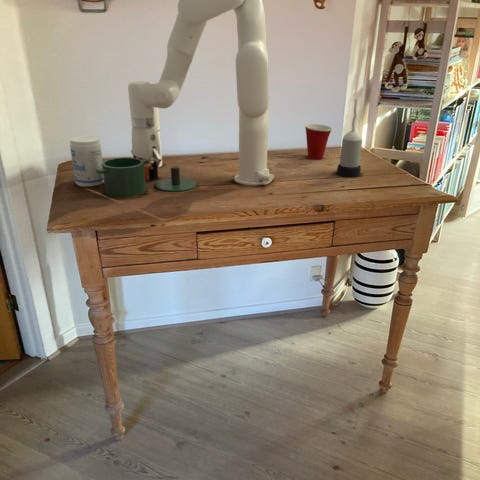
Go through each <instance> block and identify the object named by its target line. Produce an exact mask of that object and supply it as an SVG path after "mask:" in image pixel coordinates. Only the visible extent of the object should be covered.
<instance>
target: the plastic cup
mask: <svg viewBox="0 0 480 480" xmlns="http://www.w3.org/2000/svg"><path fill="white" fill-rule="evenodd" d="M304 128H305V135H306V149H307V157H308V159H309V160H310V159H311V160H322V159H323V158H324V156H325V151H326V148H327V144H328V140H329V137H330V134H331V132H332V131H333V130H334V128H333V127H332V126H329V125H325V124H320V123H319V124H318V123H306V124H305V125H304Z"/></svg>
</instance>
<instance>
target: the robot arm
mask: <svg viewBox="0 0 480 480" xmlns="http://www.w3.org/2000/svg"><path fill="white" fill-rule="evenodd" d="M177 3H178V4H177V15H176V18H175V21H174V24H173V27H172V28H171V32H170V35H169V38H168V40H167V45H166V53H167V54H166V60H165V64H164V67H163V70H162V73H161V75H160V78H159V80H158V82H156V83H150V82H149V81H145V80H140V81H139V80H136V81H131V82H129V83H128V85H127V91H128V102H129V112H130V122H131V150H130V153H131V155H132V156H133V158H138V159H141V160H142V159H146V160H149V166H150V169H149V178H150V180H149V181H155V180H158V179H159V172H158V168H159V167H158V165H159V164H160V162H161V160H162V161H163V158H162V159H161V157H160V156H161V155H160V145H159V138H158V134H157V130H156V128H155V120H154V107H156V108H158V109H168V108H170V107H171V106H172V105H174V103H175V102H176V101H177V100H178V98H179V96H180V94H181V91H182V89H183V86H184V83H185V80H186V78H187V75H188V72H189V69H190V67H191V65H192V63H193V59H194V56H195V55H196V51H197V48H198V46H199V43H200V40H201V38H202V35H203V32H204V30H205V27H206V24H207V22H208V21H210V20H212V19H214V18H216V17H219V16H221V15H223V14H226V13H227V12H229V11H232V10H233V12H234V13H235V16H236V17H235V18H236V31H237V32H236V33H237V53H236V56H235V74H236V75H235V77H236V79H235V80H236V96H237V97H236V98H237V106H238V174H236V175H234V177H233V181H234V182H236V184H237V183H238V184H241V185H245V186H261V185H268V184H270V183H271V182H272V181H273V180H274V178H275V175H274V174H272V173H270V168H268V145H269V144H268V143H269V142H268V141H269V121H270V120H269V117H270V116H269V115H270V79H269V78H270V77H269V76H270V75H269V54H268V48H267V46H268V45H267V30H266V29H267V28H266V27H267V26H266V13H265V12H266V11H265V7H264V2H263V0H178V2H177ZM151 157H153V159H152V158H151ZM151 161H154V162H153V164H152V162H151Z"/></svg>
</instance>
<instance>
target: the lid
mask: <svg viewBox="0 0 480 480" xmlns="http://www.w3.org/2000/svg"><path fill="white" fill-rule="evenodd" d="M170 175H171V176H170V178H164V179H161V180H158V181H157V182H155V184H154V186H155V188H156V189H157V190H158V191H163V192H171V193H180V192H186V191H190V190H193V189H195V188H196V187H198V183H197V181H195V180H193V179H191V178H184V177H181V171H180V165H179V166H178V165H173V166H170Z"/></svg>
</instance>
